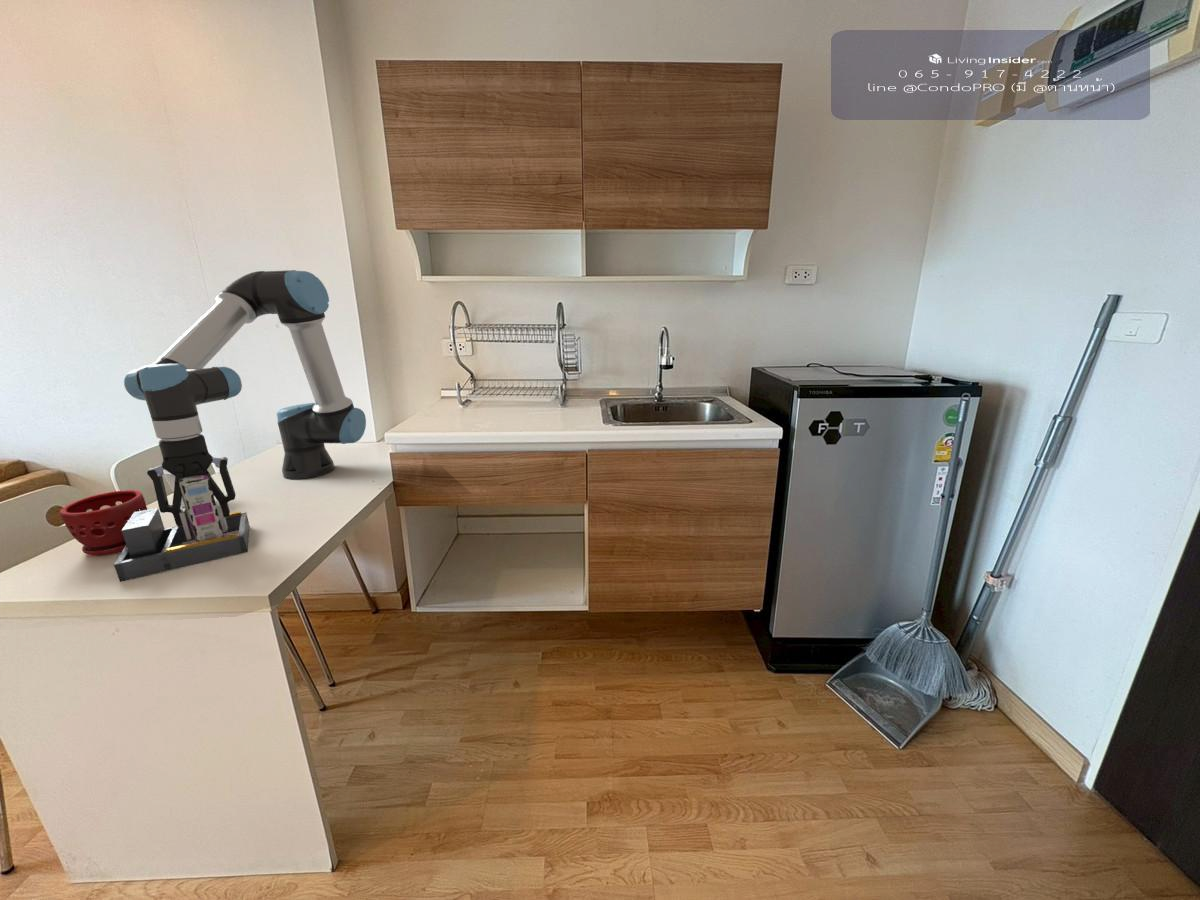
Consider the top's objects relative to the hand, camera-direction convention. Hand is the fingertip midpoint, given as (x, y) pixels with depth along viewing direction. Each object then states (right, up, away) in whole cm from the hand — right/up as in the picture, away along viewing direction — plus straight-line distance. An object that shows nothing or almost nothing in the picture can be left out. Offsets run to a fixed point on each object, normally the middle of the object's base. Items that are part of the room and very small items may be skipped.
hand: (208, 533), depth 107 cm
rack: (-3, -4, -1) cm, 5 cm away
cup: (-26, +4, +26) cm, 37 cm away
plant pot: (-22, -4, +1) cm, 22 cm away
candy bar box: (0, -2, +1) cm, 2 cm away
